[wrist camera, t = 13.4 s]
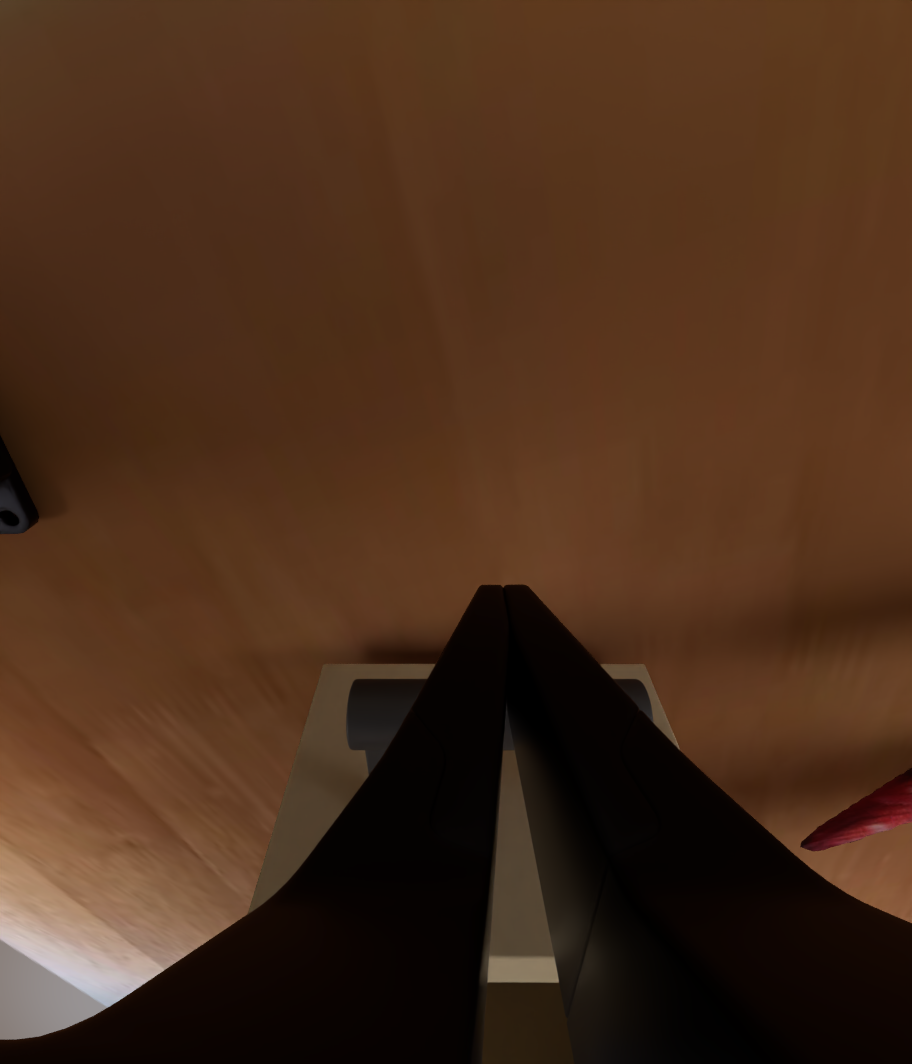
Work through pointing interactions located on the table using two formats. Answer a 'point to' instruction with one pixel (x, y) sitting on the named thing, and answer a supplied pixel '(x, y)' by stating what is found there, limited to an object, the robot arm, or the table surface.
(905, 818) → the decorative bird figurine
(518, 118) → the table surface
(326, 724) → the drawer
